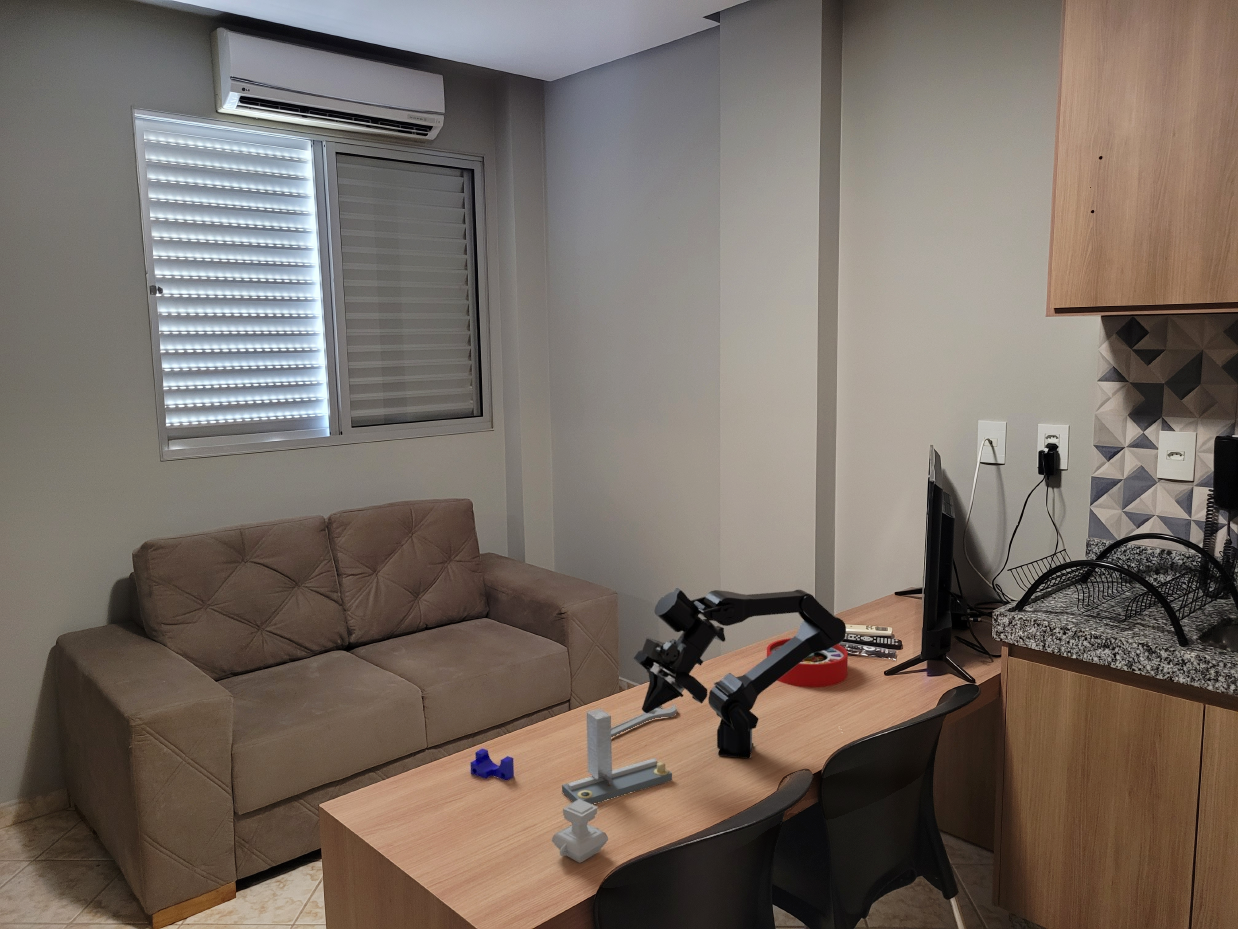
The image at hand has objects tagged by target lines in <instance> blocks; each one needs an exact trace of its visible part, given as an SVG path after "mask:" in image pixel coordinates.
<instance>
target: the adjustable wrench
mask: <svg viewBox="0 0 1238 929" xmlns="http://www.w3.org/2000/svg"><path fill="white" fill-rule="evenodd" d="M661 707H662V709H660V708H661ZM677 707H678V706H677V705H675V704H672V706H671V707H670V708H663V705H661V706H659V707H658V708H656V709H654V710H652V711H650V712H649V713H645V712H644V711H643V710H642V712H643V713H641V714H639V715H637V716H634V717H633V718H629V719H628V720H625V721H623V722H620V723H619V724H616V725H614V726H611V737H613V736H616V735H617V734H620V733H621V732H624V731H626V730H628V729H631V728H633V727H635V726H637V725H640V724H642V723H644V722H646V721H649V720H652V719H655V718H661V717H671V716H674V715H675V714H676V713H677V712H678V711H677ZM676 715H677V714H676ZM676 715H675V716H676ZM675 716H674V717H675ZM671 718H672V717H671Z"/></svg>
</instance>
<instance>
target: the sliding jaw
mask: <svg viewBox="0 0 1238 929" xmlns="http://www.w3.org/2000/svg"><path fill="white" fill-rule="evenodd" d="M611 727H612V715H611V714H609V713H608V712H606V711H605V710H604V709H602V708H596V709H592V710H588V711H586V743H587V744H586V747H587V748H586V749H587V751H586V752H587V773H588V774H590V776H593V777H594V778H595V779H597V780H598V781H599V780H602V779H604V780H605V781H606V782H607V786H611V784H613V780H612V779H611V778H610V777H612V770H613V758H612V756H613V755H612V753H613V752H612V739H611Z"/></svg>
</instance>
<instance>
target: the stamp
mask: <svg viewBox="0 0 1238 929" xmlns="http://www.w3.org/2000/svg"><path fill="white" fill-rule="evenodd" d="M598 809H599V806H598V805H597V806H596V805H595V804H594V805H592V804H590V803H587V802H585V801H583V800H580V799H578V800H576V801H575V802H571V803H570V804H568V805H567V806H565V807H563V808H562V815H563V818H564V820H566V821H567V822H569V823H571V825H568V826H566V827H565V828H562V830H560V831H558V832H555V833H554V834H553V835H552V839H551V842H552V844H554V845H555V847H556V848H558V850H559V855H560V856H561V857H565V856H567V857H569V858H570V859H572V860H574V861H575V862H577V863H579V864H581V863H583V862H584V861H586V860H587V859H590V858H591V857H593V856H594V855H596V854H598V853H599V852H600V851H601V850H602V848H603V847H604V846H605V845H606V844H607V842H608V841H609V837H608V834H607V833H606V831H605V832H604V831H603V830H600V828H598V827H597V826H593V825H591V824H589V822H591V821H592V820H594V819H595V818H596V816H597V815H598Z"/></svg>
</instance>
